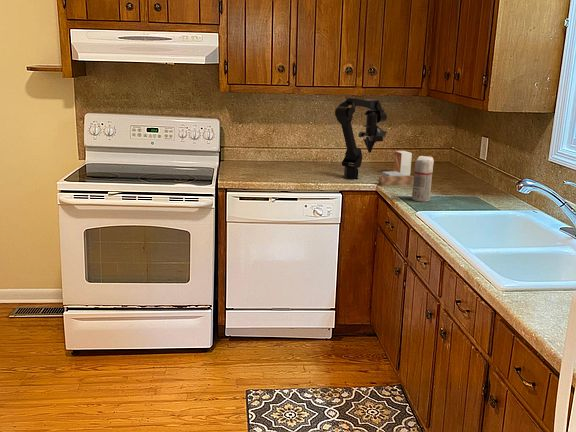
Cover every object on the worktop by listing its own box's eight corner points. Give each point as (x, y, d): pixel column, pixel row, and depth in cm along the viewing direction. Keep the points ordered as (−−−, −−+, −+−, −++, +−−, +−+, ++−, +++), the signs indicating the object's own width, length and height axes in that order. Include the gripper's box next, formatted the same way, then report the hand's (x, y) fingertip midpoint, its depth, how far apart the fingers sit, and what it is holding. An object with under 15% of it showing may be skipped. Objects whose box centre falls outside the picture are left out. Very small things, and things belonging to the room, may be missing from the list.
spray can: (433, 202, 279) (437, 158, 274) (416, 202, 277) (419, 158, 272) (425, 197, 287) (429, 154, 282) (408, 198, 285) (412, 155, 280)
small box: (392, 174, 340) (394, 150, 337) (403, 174, 342) (405, 150, 339) (399, 177, 333) (401, 153, 329) (410, 176, 335) (412, 152, 331)
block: (388, 184, 315) (389, 174, 314) (381, 181, 322) (382, 171, 321) (402, 183, 317) (403, 174, 316) (395, 180, 325) (396, 171, 323)
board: (381, 185, 310) (381, 177, 309) (378, 184, 313) (379, 176, 312) (413, 184, 316) (414, 176, 315) (410, 183, 319) (411, 175, 318)
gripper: (393, 125, 325) (391, 155, 329) (377, 121, 342) (375, 149, 346) (373, 125, 321) (371, 155, 325) (358, 121, 338) (357, 149, 342)
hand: (369, 152), depth 335 cm, fingers closed
